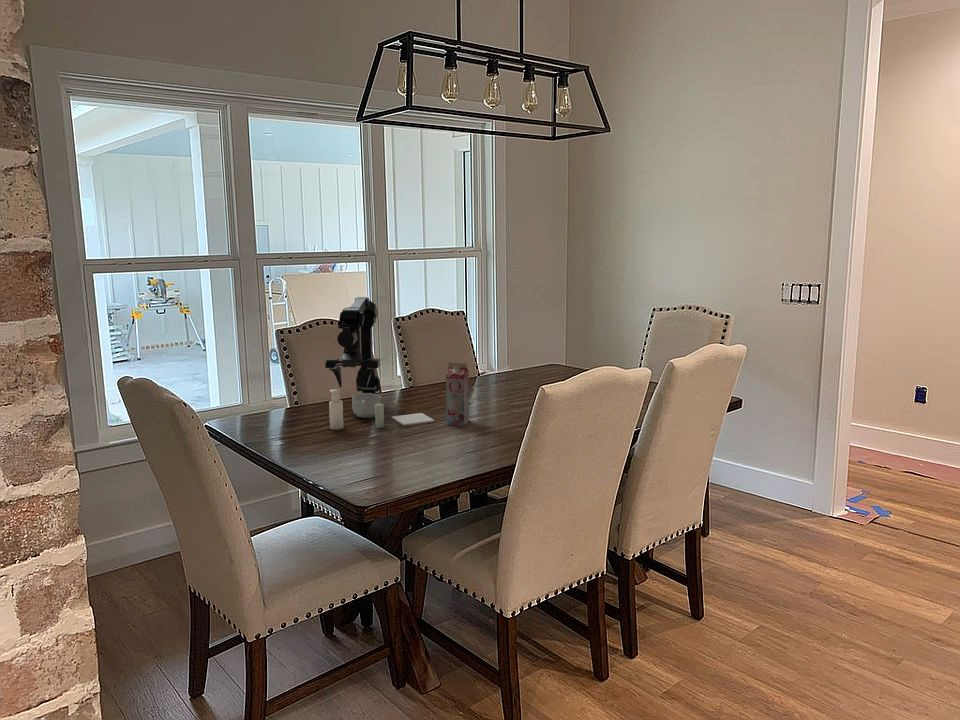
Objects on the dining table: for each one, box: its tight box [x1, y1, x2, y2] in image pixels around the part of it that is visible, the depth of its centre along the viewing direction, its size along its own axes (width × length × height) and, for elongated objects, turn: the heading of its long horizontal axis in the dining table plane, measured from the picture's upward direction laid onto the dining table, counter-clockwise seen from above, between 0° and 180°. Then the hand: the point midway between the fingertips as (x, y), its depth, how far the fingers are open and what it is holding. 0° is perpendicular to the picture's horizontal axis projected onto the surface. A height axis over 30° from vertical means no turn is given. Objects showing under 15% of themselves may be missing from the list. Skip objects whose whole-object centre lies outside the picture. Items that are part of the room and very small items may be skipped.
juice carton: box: [445, 362, 470, 426], centre depth 273 cm, size 7×7×22 cm
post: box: [374, 403, 385, 429], centre depth 269 cm, size 3×3×8 cm
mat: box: [391, 412, 435, 426], centre depth 279 cm, size 12×12×1 cm
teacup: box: [351, 392, 382, 419], centre depth 283 cm, size 14×11×8 cm
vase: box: [328, 388, 344, 431], centre depth 267 cm, size 5×5×14 cm
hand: (353, 387), depth 273 cm, fingers open, 9 cm apart
